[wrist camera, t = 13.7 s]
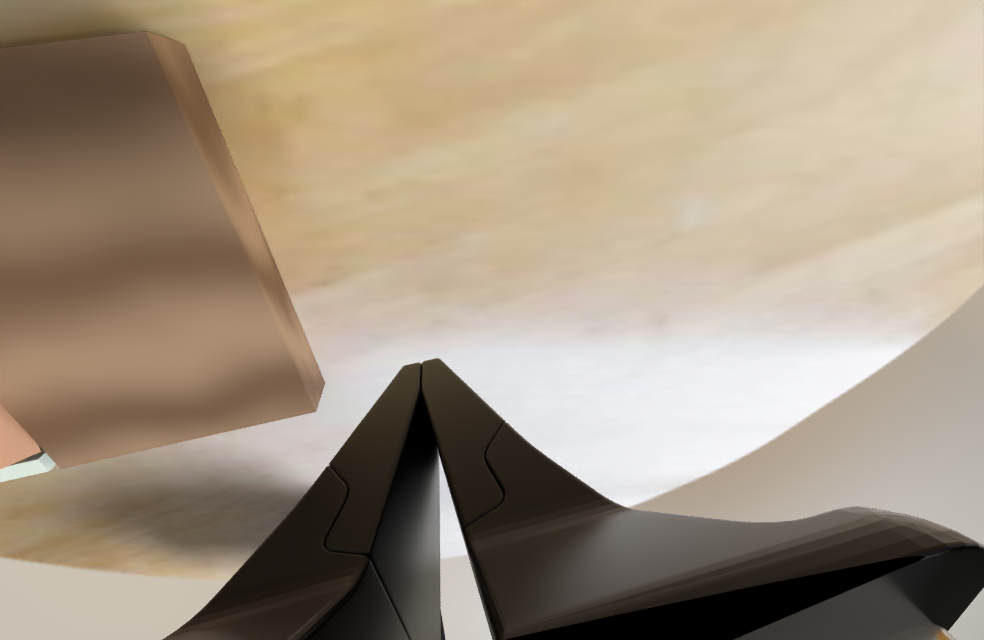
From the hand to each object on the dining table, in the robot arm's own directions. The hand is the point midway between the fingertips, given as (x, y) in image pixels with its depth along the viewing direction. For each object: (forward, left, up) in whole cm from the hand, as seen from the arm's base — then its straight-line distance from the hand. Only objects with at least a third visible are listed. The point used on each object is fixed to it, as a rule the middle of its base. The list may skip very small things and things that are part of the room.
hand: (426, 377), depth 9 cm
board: (+1, +13, -12) cm, 18 cm away
